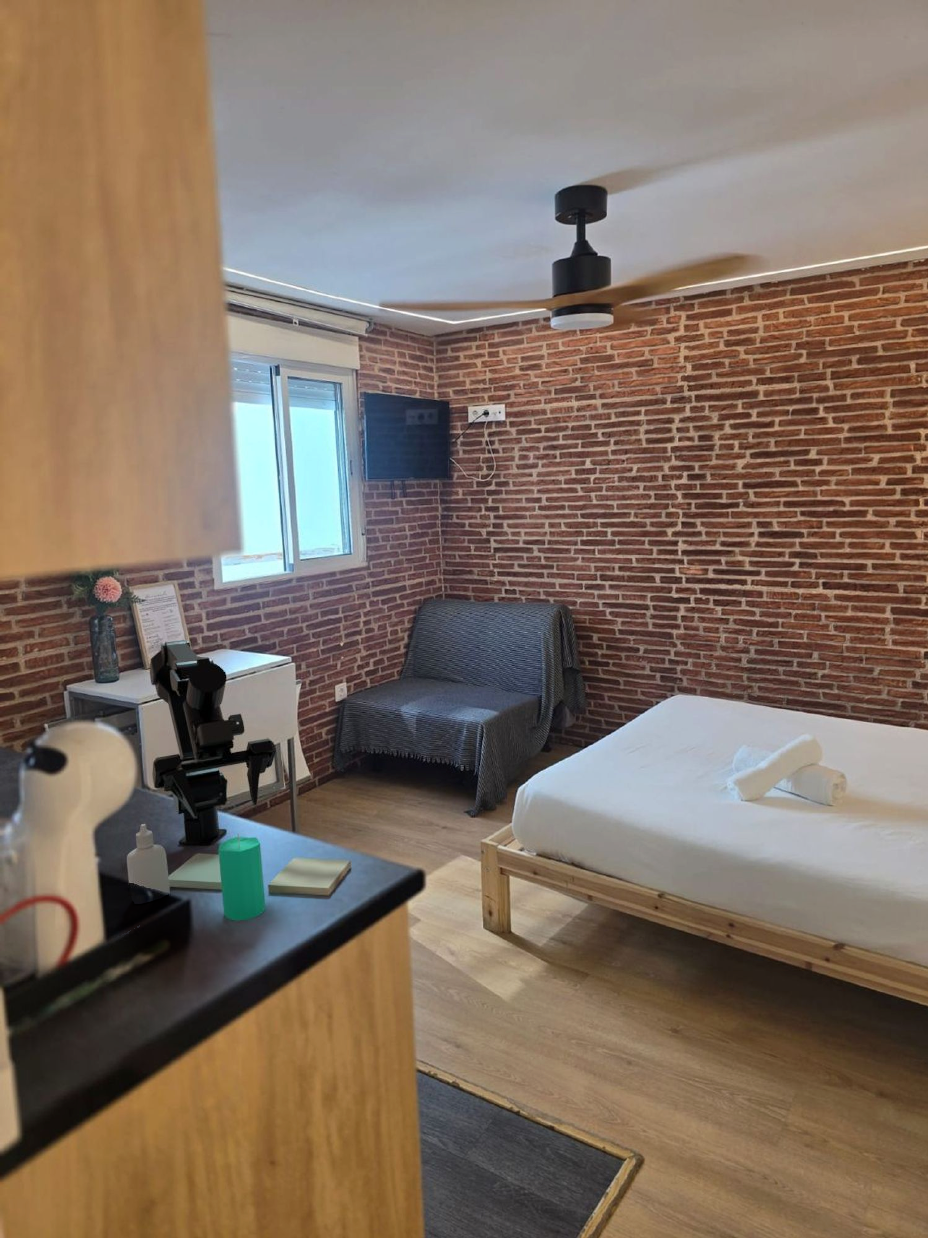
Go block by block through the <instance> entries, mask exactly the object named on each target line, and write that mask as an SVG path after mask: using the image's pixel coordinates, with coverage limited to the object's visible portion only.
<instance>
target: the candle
mask: <svg viewBox="0 0 928 1238" xmlns="http://www.w3.org/2000/svg"><path fill="white" fill-rule="evenodd" d="M261 849H262V848H261V842H260V841H259V839H258V838H257V837H246V836H240V834H239V833H237V836H234V837H232V838H229V839H226V840H225V841H223V842H221V843H220V844H219V846H218V850H217V852H218V853H217V854H219V864H220V875H221V886H222V890H221V895H222V897H221V898H222V906H223V915H224V917H225V918H226V919H228V920H231V921H232V920H233V921H246V920H249V919H253V918H255V917H258V916H259V915H261V914H262V913H264V911H265V908H266V899H265V886H264V874H263V873H264V872H263V862H262V850H261Z"/></svg>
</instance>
